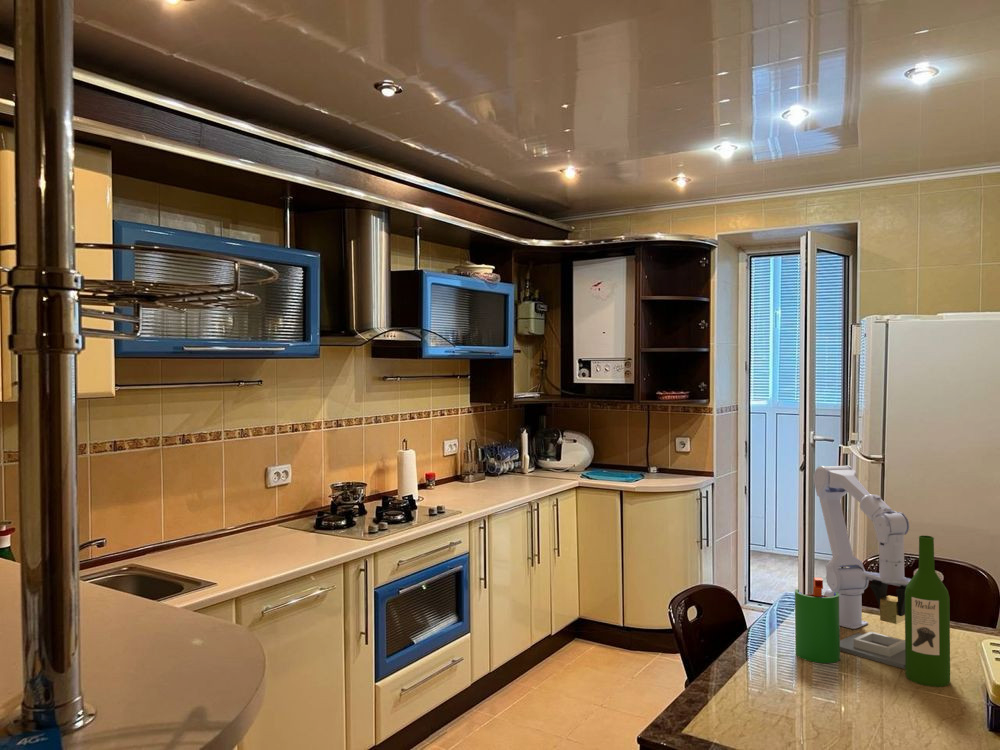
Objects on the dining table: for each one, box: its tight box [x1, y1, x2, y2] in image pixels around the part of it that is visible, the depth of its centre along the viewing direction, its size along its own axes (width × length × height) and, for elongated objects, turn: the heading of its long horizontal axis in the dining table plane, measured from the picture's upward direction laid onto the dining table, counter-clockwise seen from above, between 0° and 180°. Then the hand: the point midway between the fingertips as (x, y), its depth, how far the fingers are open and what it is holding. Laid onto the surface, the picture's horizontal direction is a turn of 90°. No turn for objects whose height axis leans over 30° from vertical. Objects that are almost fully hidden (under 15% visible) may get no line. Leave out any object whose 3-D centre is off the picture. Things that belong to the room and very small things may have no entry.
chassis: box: [840, 631, 905, 670], centre depth 191 cm, size 18×14×3 cm
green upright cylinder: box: [794, 576, 841, 664], centre depth 188 cm, size 10×9×20 cm
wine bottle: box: [904, 535, 951, 688], centre depth 173 cm, size 9×9×32 cm
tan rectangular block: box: [879, 595, 905, 625], centre depth 195 cm, size 4×5×6 cm
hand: (892, 613), depth 195 cm, fingers closed on tan rectangular block, 4 cm apart
